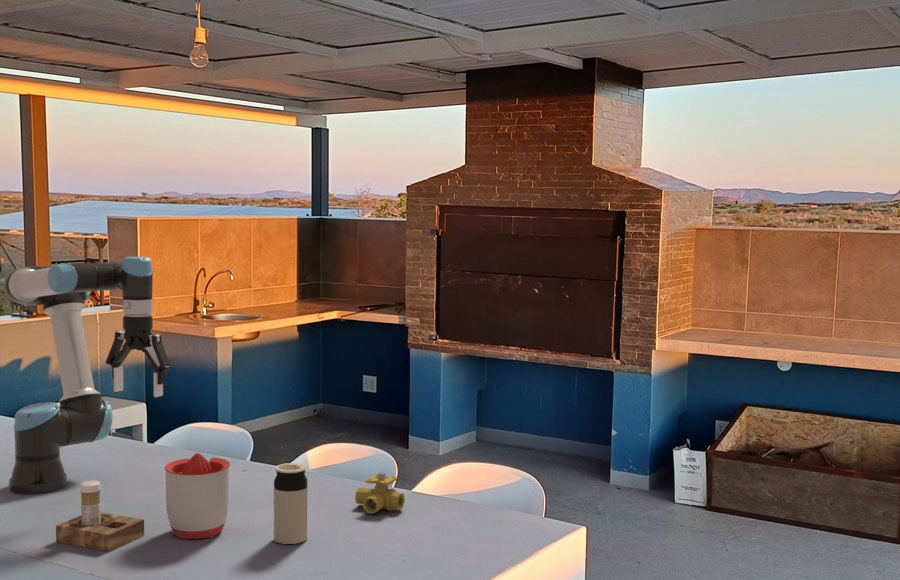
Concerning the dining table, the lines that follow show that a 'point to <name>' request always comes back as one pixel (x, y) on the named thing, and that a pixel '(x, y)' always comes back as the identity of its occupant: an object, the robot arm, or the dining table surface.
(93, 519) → the sprinkles bottle
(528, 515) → the dining table surface
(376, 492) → the ball valve
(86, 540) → the socket block
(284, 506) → the travel mug
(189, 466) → the citrus juicer
